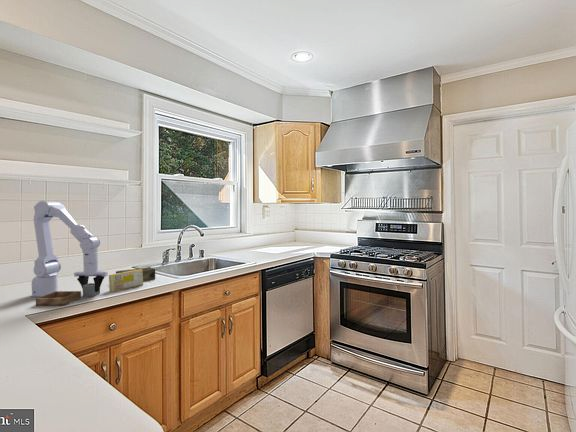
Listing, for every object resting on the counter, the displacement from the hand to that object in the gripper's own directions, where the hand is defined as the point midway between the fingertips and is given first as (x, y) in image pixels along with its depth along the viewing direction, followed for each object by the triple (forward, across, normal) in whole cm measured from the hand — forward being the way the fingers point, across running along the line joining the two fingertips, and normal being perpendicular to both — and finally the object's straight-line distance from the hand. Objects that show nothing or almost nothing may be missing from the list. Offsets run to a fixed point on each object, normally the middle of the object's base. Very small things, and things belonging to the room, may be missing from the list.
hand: (91, 291), depth 152 cm
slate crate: (+2, 0, 0) cm, 2 cm away
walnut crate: (+2, +8, +10) cm, 13 cm away
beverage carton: (+2, -7, -28) cm, 30 cm away
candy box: (+2, -10, -13) cm, 17 cm away
